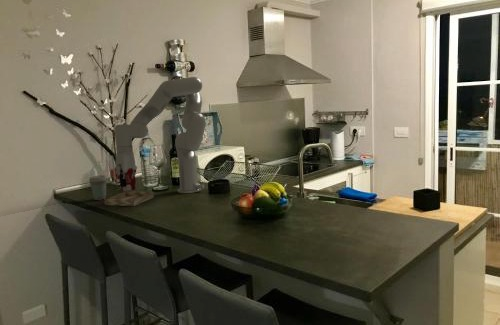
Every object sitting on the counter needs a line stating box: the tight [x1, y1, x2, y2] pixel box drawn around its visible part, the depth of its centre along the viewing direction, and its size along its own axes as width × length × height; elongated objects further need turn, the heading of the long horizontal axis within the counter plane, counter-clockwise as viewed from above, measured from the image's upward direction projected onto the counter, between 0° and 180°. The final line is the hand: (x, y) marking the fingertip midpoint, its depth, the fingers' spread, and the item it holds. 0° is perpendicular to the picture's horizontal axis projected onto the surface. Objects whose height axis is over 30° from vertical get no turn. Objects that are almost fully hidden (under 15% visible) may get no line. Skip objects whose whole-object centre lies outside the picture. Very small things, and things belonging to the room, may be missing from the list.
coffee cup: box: [88, 174, 107, 201], centre depth 216 cm, size 8×8×12 cm
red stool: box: [120, 167, 136, 193], centre depth 207 cm, size 7×7×12 cm
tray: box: [103, 191, 155, 207], centre depth 208 cm, size 17×17×3 cm
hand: (128, 184), depth 207 cm, fingers closed on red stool, 6 cm apart
